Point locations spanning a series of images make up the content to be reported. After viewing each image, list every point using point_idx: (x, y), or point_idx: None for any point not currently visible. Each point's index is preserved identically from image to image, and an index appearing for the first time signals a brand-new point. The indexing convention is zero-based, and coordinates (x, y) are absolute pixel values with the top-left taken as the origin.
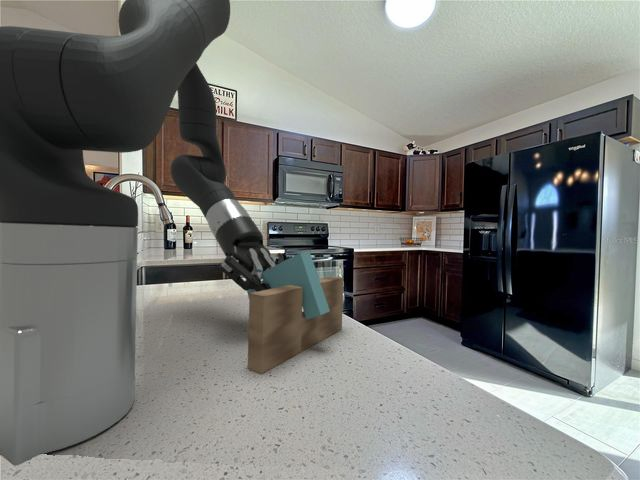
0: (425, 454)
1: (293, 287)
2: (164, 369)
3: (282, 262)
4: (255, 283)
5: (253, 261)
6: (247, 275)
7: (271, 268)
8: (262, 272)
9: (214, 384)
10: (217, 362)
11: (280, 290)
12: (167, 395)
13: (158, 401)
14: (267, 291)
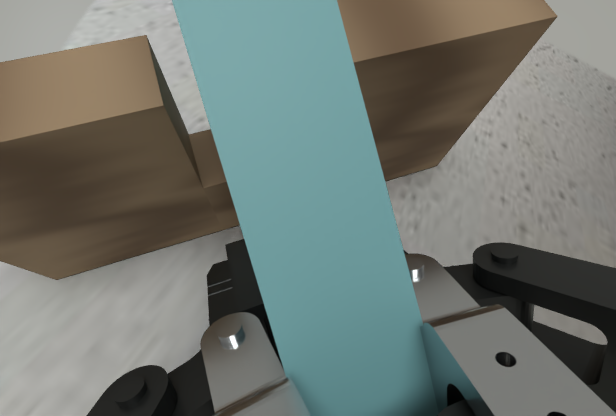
0: None
1: (344, 17)
2: (610, 258)
3: (347, 48)
4: (463, 268)
5: (583, 385)
6: (560, 265)
7: (386, 199)
8: (420, 317)
9: (506, 146)
10: (495, 226)
11: (425, 1)
12: (583, 156)
13: (593, 147)
14: (483, 10)
